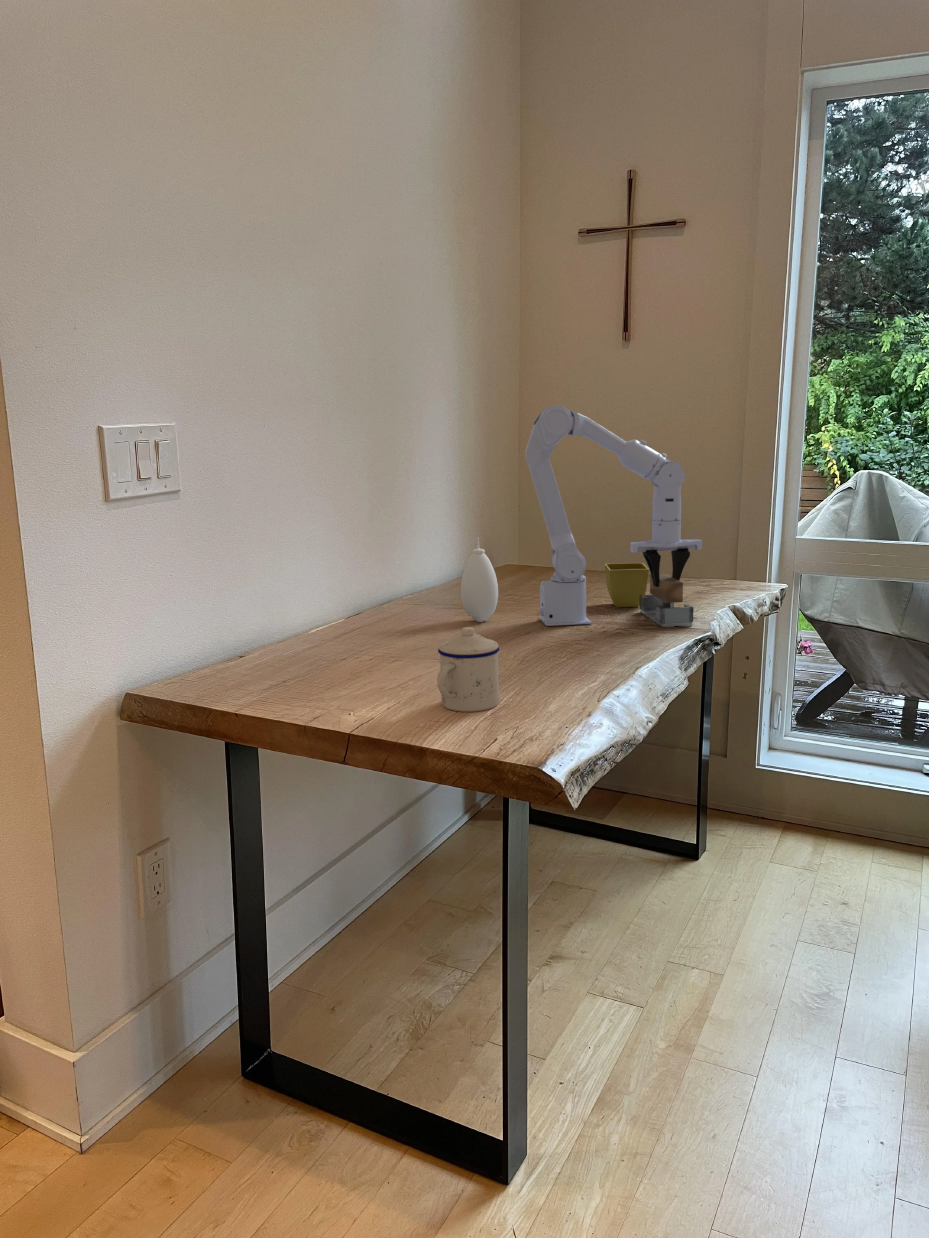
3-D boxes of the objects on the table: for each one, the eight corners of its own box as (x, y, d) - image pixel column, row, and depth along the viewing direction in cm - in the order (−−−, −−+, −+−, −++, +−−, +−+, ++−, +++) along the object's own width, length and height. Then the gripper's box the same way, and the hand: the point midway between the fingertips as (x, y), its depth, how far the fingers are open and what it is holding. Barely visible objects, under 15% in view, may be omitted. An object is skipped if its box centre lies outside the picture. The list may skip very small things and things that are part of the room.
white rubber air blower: (465, 626, 194) (463, 539, 190) (458, 618, 201) (456, 535, 197) (502, 623, 195) (500, 537, 191) (494, 616, 203) (492, 533, 199)
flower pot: (649, 608, 205) (649, 568, 204) (609, 609, 206) (609, 569, 204) (642, 601, 214) (642, 562, 212) (604, 602, 214) (604, 563, 212)
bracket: (661, 627, 186) (661, 609, 186) (639, 612, 202) (639, 594, 201) (693, 626, 187) (693, 607, 186) (668, 610, 203) (669, 593, 202)
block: (665, 602, 188) (665, 583, 187) (650, 593, 199) (650, 574, 198) (682, 602, 188) (682, 582, 187) (666, 592, 199) (666, 573, 198)
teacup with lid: (463, 692, 146) (460, 619, 144) (512, 700, 141) (510, 625, 139) (415, 712, 137) (412, 635, 134) (466, 722, 131) (464, 641, 129)
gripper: (637, 523, 186) (636, 590, 189) (707, 520, 187) (706, 587, 190) (627, 519, 193) (627, 584, 195) (696, 517, 194) (694, 581, 197)
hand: (665, 585), depth 193 cm, fingers closed on block, 3 cm apart
